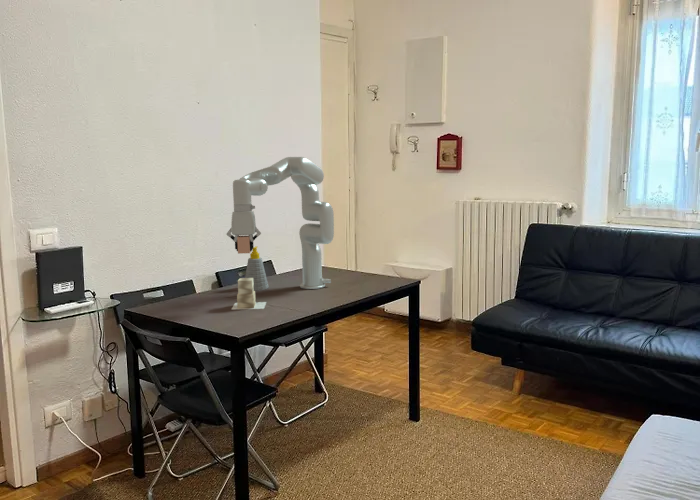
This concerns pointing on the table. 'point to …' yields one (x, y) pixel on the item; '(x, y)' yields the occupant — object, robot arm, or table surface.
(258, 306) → the mat
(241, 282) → the tower mid
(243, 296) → the tower base
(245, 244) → the top block
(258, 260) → the soap bottle
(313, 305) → the table surface
